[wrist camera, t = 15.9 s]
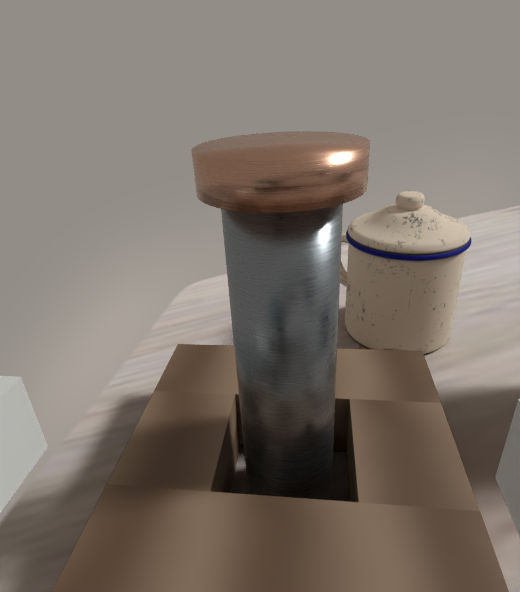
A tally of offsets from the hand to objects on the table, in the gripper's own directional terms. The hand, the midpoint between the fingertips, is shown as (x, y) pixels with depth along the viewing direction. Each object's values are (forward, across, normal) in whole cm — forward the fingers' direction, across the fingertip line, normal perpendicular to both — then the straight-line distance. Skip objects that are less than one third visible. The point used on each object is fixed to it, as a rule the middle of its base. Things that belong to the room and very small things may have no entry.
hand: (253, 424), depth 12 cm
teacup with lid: (+25, +7, -12) cm, 29 cm away
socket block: (+7, 0, -12) cm, 14 cm away
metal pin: (+7, 0, -12) cm, 14 cm away
